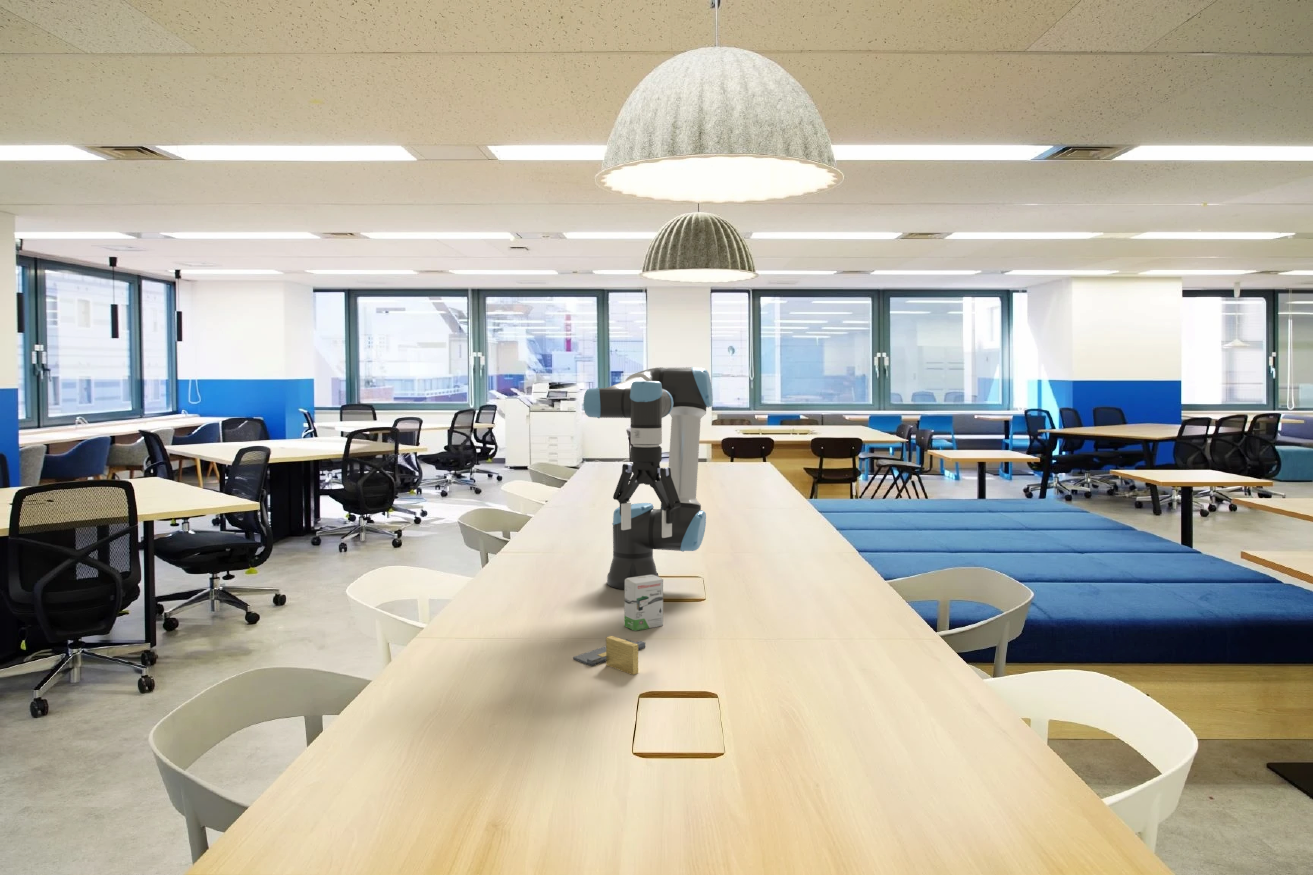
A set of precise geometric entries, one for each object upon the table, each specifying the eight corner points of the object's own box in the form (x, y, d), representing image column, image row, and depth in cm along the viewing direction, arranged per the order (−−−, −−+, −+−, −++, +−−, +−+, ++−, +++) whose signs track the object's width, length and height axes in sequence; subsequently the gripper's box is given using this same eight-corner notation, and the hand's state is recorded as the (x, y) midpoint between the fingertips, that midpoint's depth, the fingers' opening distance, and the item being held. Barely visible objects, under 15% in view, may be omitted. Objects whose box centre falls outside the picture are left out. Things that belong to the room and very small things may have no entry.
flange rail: (573, 659, 172) (572, 631, 172) (626, 641, 184) (626, 615, 183) (624, 678, 162) (624, 649, 161) (677, 658, 173) (677, 631, 173)
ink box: (634, 631, 191) (634, 582, 190) (623, 626, 195) (623, 578, 194) (664, 625, 196) (664, 577, 195) (653, 620, 200) (653, 573, 199)
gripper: (599, 443, 198) (599, 528, 200) (674, 449, 181) (674, 542, 183) (620, 441, 203) (620, 524, 205) (696, 447, 186) (695, 537, 188)
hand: (645, 533), depth 194 cm, fingers open, 13 cm apart
